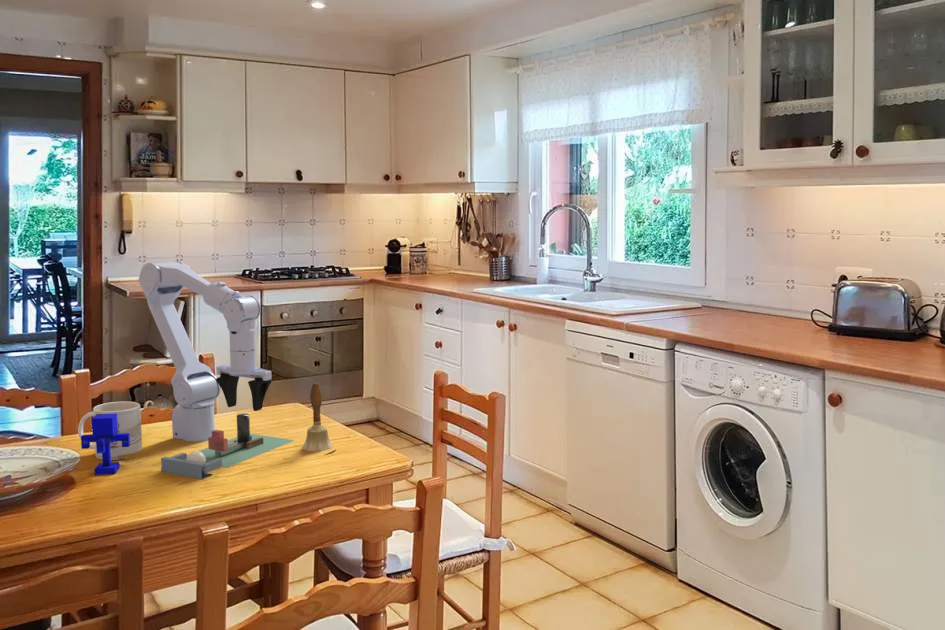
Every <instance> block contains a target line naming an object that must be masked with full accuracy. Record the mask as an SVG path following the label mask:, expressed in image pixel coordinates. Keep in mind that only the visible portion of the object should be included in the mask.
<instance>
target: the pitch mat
mask: <svg viewBox="0 0 945 630" xmlns="http://www.w3.org/2000/svg"><path fill="white" fill-rule="evenodd" d="M250 436H252V440H254V439H256V438H259V437H262V438H263V444H261V445H259V446H256V447H253V448H251V449H246V447H244V448H241V449H238V450H236V451H233V452H230V453H228V454H225V455H223V456H218V455H215V450H211V449H209V448H208V447H206V448H205V447H204V448H202V449H200V450H198V451H199V452H202V453H203V454H204V455H205V458H206V463H208V462H210V461H213V460H215V459H222V467H223V468H230V467H233V466H235V465H237V464H240V463H243V462H245V461H247V460H250V459H253V458H254V457H258V456H260V455H262V454H264V453H267V452H270V451H272V450H275V449H277V448H280V447H282V446H285V445H287V444H289V443H292V442H295V440H294V439H288V438H281V437H276V436H268V435H263V434H258V433H257V434H255V433H250ZM227 440H228V445H229V444H231V443H234V440H237V436H236V437H234V438H231V439H227ZM188 455H189V454H187V456H188Z"/></svg>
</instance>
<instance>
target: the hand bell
mask: <svg viewBox="0 0 945 630" xmlns="http://www.w3.org/2000/svg"><path fill="white" fill-rule="evenodd" d="M320 387H321V386H320V385H319V382H313V383H312V387H311V391H310V393H309V394H310V398H309V400H310V404H311V406H312V411H313V412H312V415H313V416H312V418H313V421H312V423H313V424H312V426H309V427H308V428H307V432H306V438H305V442H304V444H303V445H302V446H301V449H302V450H304V451H307V452H325V451H329V450H331V449H333V448H334V445H333V443H332V442H331V440H330V437H329V434H328V433H329V432H328V428H327V427H326V426H325V425H322V421H321V420H322V419H321V406H322V401H323V400H322V399H323V398H322V397H323V395H322V394H323V393H322V391H321V388H320ZM336 451H337V450H336V449H334V450H331V451H330V452H328V453H325V454H324V456H328V455H331V454H333V453H335V452H336Z"/></svg>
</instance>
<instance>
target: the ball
mask: <svg viewBox="0 0 945 630" xmlns="http://www.w3.org/2000/svg"><path fill="white" fill-rule="evenodd" d="M199 451H200V450H194V451H192V452H190V453H188V454H187V455H188V456H187V458H186V460H188V461H194V462H199V463H206V458H205V455H204V454H203V453H202V452H199Z"/></svg>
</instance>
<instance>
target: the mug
mask: <svg viewBox="0 0 945 630" xmlns="http://www.w3.org/2000/svg"><path fill="white" fill-rule="evenodd" d="M141 412H142V411H141V404H140V403H138V402H135V401H127V400H126V401H111V402H104V403H102V404H98V405H95V406H94V407H92V411H90V412H87V413H86V414H85V415H83V416H82V417H81V419H80V421H79V423H78V428H77V430H78V431H77V433H78V437H79V440H80V441H81V436H82V435H85V433H84V425H85V421H87V419H88V418H90V417H92V418H93V417H94V416H95V415H96V414H115V413H117V427H118V432H117V433H130V446H129V447H122V441H114V442H113V443H110V452H111V461H119V460H120V461H121V460H125V459H126V458H123V457H121V456H127V455H131V454H135V453H137V452H138V453H139V452H140V451H141V450H142V449H143V438H142V437H143V433H142V432H143V431H142V415H141V414H142V413H141ZM88 449H91V450H94V451H95V457H96V459H99V460H102V453H97V448H96V442H94V443H93V442H90V447H89V448H88Z"/></svg>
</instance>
